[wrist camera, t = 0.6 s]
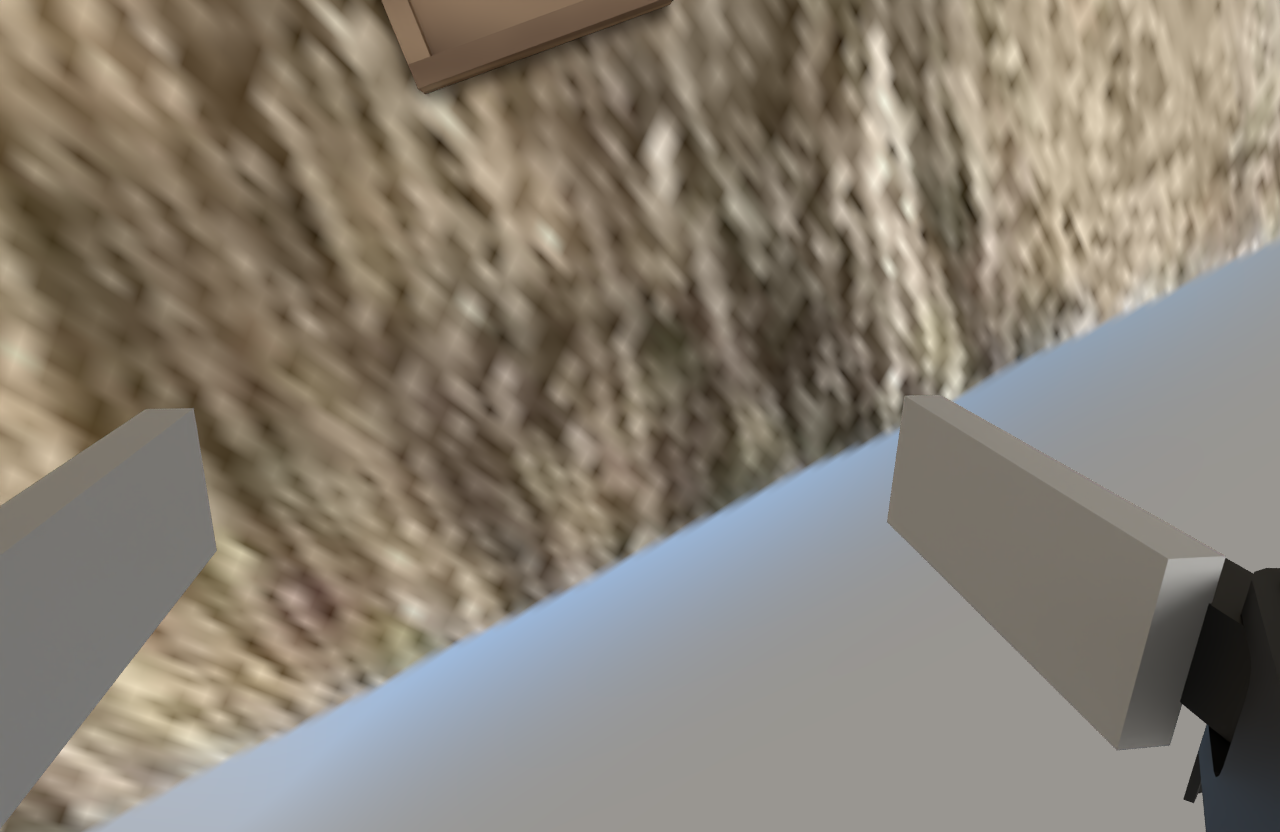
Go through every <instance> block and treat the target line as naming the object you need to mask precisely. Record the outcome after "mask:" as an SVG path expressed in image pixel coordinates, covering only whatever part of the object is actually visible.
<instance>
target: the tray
mask: <svg viewBox="0 0 1280 832" xmlns="http://www.w3.org/2000/svg"><path fill="white" fill-rule="evenodd" d="M672 1H673V0H382V3H383V5H384V8H385V10H386V13H387V15H388V17H389V20H390V22H391V25H392V27H393V29H394V32H395V34H396V37H397V39H398V42H399V44H400V46H401V49H402V51H403V54H404V56H405V59H406V61H407V63H408V66H409V68H410V71H411V73H412V75H413V78H414V80H415V83H416V85H417V88H418V89H419V90H420V91H422V92H423V93H424V94H427V93H430V92H433V91H436V90H438V89H441V88H444V87H446V86H449V85H452V84H455V83H457V82H460V81H463V80H466V79H468V78H471V77H474V76H476V75H479V74H482V73H485V72H487V71H490V70H493V69H496V68H498V67H501V66H504V65H506V64H509V63H512V62H515V61H517V60H520V59H523V58H526V57H528V56H531V55H534V54H536V53H539V52H542V51H545V50H547V49H550V48H553V47H556V46H558V45H561V44H564V43H566V42H569V41H572V40H575V39H577V38H580V37H583V36H586V35H588V34H591V33H594V32H596V31H599V30H602V29H605V28H607V27H610V26H613V25H616V24H618V23H621V22H624V21H626V20H629V19H632V18H635V17H637V16H640V15H643V14H646V13H648V12H651V11H654V10H656V9H659V8H662V7H665V6H667V5H670V4H671V2H672Z"/></svg>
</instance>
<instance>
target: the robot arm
mask: <svg viewBox="0 0 1280 832" xmlns="http://www.w3.org/2000/svg"><path fill="white" fill-rule="evenodd" d="M887 522H888V523H889V524H890V525H891V526H892V527H893V528H894V529H895V530H896V531H897V532H898V533H899V534H900V535H901V536H902V537H903V538H904V539H905V540H906V541H907V542H908V543H909V544H910V545H911V546H912V547H913V548H914V549H915V550H916V551H917V552H918V553H919V554H920V555H921V556H922V557H923V558H924V559H925V560H926V561H927V562H928V563H929V564H930V565H931V566H932V567H933V568H934V569H935V570H936V571H937V572H938V573H939V574H940V575H941V576H942V577H943V578H944V579H945V580H946V581H947V582H948V583H949V584H950V585H951V586H952V587H953V588H954V589H955V590H956V591H957V592H958V593H959V594H960V595H961V596H962V597H963V598H964V599H965V600H966V601H967V602H968V603H969V604H970V605H971V606H972V607H973V608H974V609H975V610H976V611H977V612H978V613H979V614H980V615H981V616H982V617H983V618H984V619H985V620H986V621H987V622H988V623H989V624H990V625H991V626H992V627H993V628H994V629H995V630H996V631H997V632H998V633H999V634H1000V635H1001V636H1002V637H1003V638H1004V639H1005V640H1006V641H1007V642H1008V643H1009V644H1010V645H1011V646H1012V647H1014V649H1015V650H1016V651H1018V653H1019V654H1020V655H1021V656H1022V657H1024V658H1025V659H1026V660H1027V662H1029V664H1031V665H1032V666H1033V667H1034V668H1035V669H1036V670H1037V671H1038V672H1039V673H1040V674H1041V675H1042V676H1043V677H1044V678H1045V679H1046V680H1047V681H1048V682H1049V683H1050V684H1051V685H1052V686H1053V687H1054V688H1055V689H1056V690H1057V691H1058V692H1059V693H1060V694H1061V695H1062V696H1063V697H1064V698H1065V699H1066V700H1067V701H1068V702H1069V703H1070V704H1071V705H1072V706H1073V707H1074V708H1075V709H1076V710H1077V711H1078V712H1079V713H1080V714H1081V715H1082V716H1083V717H1084V718H1085V719H1086V720H1087V721H1088V722H1089V723H1090V724H1091V725H1092V726H1093V727H1094V728H1095V729H1096V730H1097V731H1098V732H1099V733H1100V734H1101V735H1102V736H1103V737H1104V738H1105V739H1106V740H1107V741H1108V742H1109V743H1110V744H1111V745H1112V746H1113V747H1114V748H1115V749H1116V750H1126V749H1136V748H1147V747H1158V746H1169V745H1170V743H1171V740H1172V736H1173V733H1174V729H1175V726H1176V723H1177V720H1178V716H1179V713H1180V710H1181V706H1182V704H1183V705H1184V706H1186V707H1187V708H1188V709H1189V710H1190V711H1192V712H1193V713H1194V714H1195V715H1196V716H1198V717H1199V718H1200V719H1201V720H1203V721H1204V722H1205V723H1206V724H1207V725H1206V728H1205V732H1204V735H1203V738H1202V741H1201V744H1200V747H1199V751H1198V754H1197V757H1196V760H1195V764H1194V767H1193V770H1192V773H1191V776H1190V780H1189V783H1188V786H1187V790H1186V793H1185V796H1184V800H1186V801H1189V802H1192V803H1194V801H1195V799H1196V797H1197V795H1198V793H1202V795H1203V805H1204V816H1205V826H1206V832H1280V568H1265V569H1262V570H1259V571H1256V572H1254V574H1253V573H1251V572H1249V571H1248V570H1246V569H1244V568H1242V567H1241V566H1239V565H1237V564H1235V563H1234V562H1232V561H1230V560H1228V559H1227V558H1225V557H1226V556H1225V555H1223V554H1222V553H1220V552H1218V551H1216V550H1214V549H1212V548H1210V547H1209V546H1207V545H1206V544H1204V543H1202V542H1200V541H1198V540H1197V539H1195V538H1193V537H1191V536H1190V535H1188V534H1186V533H1184V532H1182V531H1181V530H1179V529H1177V528H1175V527H1174V526H1172V525H1170V524H1168V523H1166V522H1165V521H1163V520H1161V519H1159V518H1158V517H1156V516H1154V515H1152V514H1151V513H1149V512H1147V511H1145V510H1143V509H1141V508H1140V507H1138V506H1136V505H1135V504H1133V503H1131V502H1129V501H1127V500H1126V499H1124V498H1122V497H1120V496H1119V495H1117V494H1115V493H1113V492H1111V491H1110V490H1108V489H1106V488H1104V487H1103V486H1101V485H1099V484H1097V483H1096V482H1094V481H1092V480H1090V479H1089V478H1087V477H1085V476H1083V475H1081V474H1080V473H1078V472H1076V471H1074V470H1073V469H1071V468H1069V467H1067V466H1065V465H1064V464H1062V463H1060V462H1058V461H1057V460H1055V459H1053V458H1051V457H1050V456H1048V455H1046V454H1044V453H1042V452H1041V451H1039V450H1037V449H1035V448H1033V447H1032V446H1030V445H1028V444H1026V443H1025V442H1023V441H1021V440H1019V439H1018V438H1016V437H1014V436H1012V435H1011V434H1009V433H1007V432H1005V431H1003V430H1002V429H1000V428H998V427H996V426H995V425H993V424H991V423H989V422H987V421H986V420H984V419H982V418H980V417H979V416H977V415H975V414H973V413H972V412H970V411H968V410H966V409H964V408H963V407H961V406H959V405H957V404H956V403H954V402H952V401H950V400H948V399H947V398H945V397H943V396H941V395H919V396H905V397H904V404H903V411H902V419H901V426H900V433H899V440H898V447H897V454H896V462H895V469H894V476H893V483H892V491H891V497H890V505H889V512H888V519H887ZM216 551H217V549H216V543H215V537H214V531H213V525H212V518H211V512H210V506H209V500H208V494H207V488H206V481H205V475H204V469H203V463H202V457H201V451H200V444H199V438H198V432H197V426H196V420H195V414H194V408H179V409H145V410H144V411H142V412H141V413H139V414H138V415H136V416H135V417H133V418H132V419H130V420H129V421H127V422H126V423H124V424H123V425H121V426H120V427H118V428H117V429H115V430H114V431H112V432H111V433H109V434H108V435H106V436H105V437H103V438H102V439H100V440H99V441H97V442H96V443H94V444H93V445H91V446H90V447H88V448H87V449H85V450H84V451H82V452H81V453H79V454H78V455H76V456H75V457H73V458H72V459H70V460H69V461H67V462H66V463H64V464H63V465H61V466H60V467H58V468H57V469H55V470H54V471H52V472H51V473H49V474H48V475H46V476H45V477H43V478H42V479H40V480H39V481H37V482H36V483H34V484H33V485H31V486H30V487H28V488H27V489H25V490H24V491H22V492H21V493H19V494H18V495H16V496H15V497H13V498H12V499H10V500H9V501H7V502H6V503H4V504H3V505H1V506H0V828H1V827H2V826H3V824H4V823H5V822H6V821H7V819H8V818H9V817H10V815H11V814H12V813H13V812H14V810H15V809H16V808H17V807H18V805H19V804H20V803H21V801H22V800H23V799H24V798H25V796H26V795H27V794H28V792H29V791H30V790H31V789H32V787H33V786H34V785H35V783H36V782H37V781H38V780H39V778H40V777H41V776H42V774H43V773H44V772H45V771H46V769H47V768H48V767H49V765H50V764H51V763H52V762H53V760H54V759H55V758H56V756H57V755H58V754H59V753H60V751H61V750H62V749H63V747H64V746H65V745H66V744H67V742H68V741H69V740H70V738H71V737H72V736H73V735H74V733H75V732H76V731H77V729H78V728H79V727H80V726H81V724H82V723H83V722H84V720H85V719H86V718H87V717H88V715H89V714H90V713H91V711H92V710H93V709H94V708H95V706H96V705H97V704H98V702H99V701H100V700H101V699H102V697H103V696H104V695H105V693H106V692H107V691H108V690H109V688H110V687H111V686H112V684H113V683H114V682H115V681H116V679H117V678H118V677H119V675H120V674H121V673H122V672H123V670H124V669H125V668H126V666H127V665H128V664H129V663H130V661H131V660H132V659H133V657H134V656H135V655H136V654H137V652H138V651H139V650H140V648H141V647H142V646H143V645H144V643H145V642H146V641H147V639H148V638H149V637H150V636H151V634H152V633H153V632H154V630H155V629H156V628H157V627H158V625H159V624H160V623H161V621H162V620H163V619H164V618H165V616H166V615H167V614H168V612H169V611H170V610H171V609H172V607H173V606H174V605H175V603H176V602H177V601H178V600H179V598H180V597H181V596H182V595H183V593H184V592H185V591H186V589H187V588H188V587H189V586H190V584H191V583H192V582H193V580H194V579H195V578H196V577H197V575H198V574H199V573H200V571H201V570H202V569H203V568H204V566H205V565H206V564H207V562H208V561H209V560H210V559H211V557H212V556H213V555H214V553H215V552H216Z"/></svg>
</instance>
